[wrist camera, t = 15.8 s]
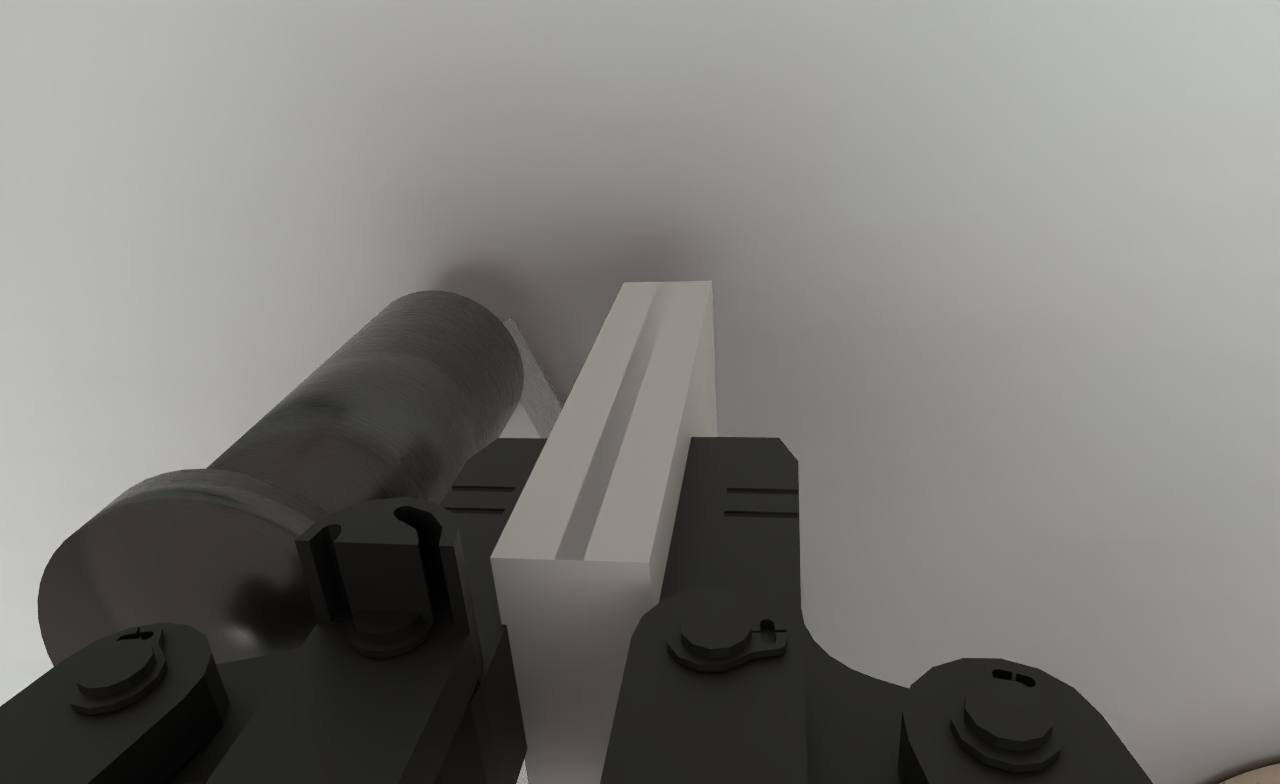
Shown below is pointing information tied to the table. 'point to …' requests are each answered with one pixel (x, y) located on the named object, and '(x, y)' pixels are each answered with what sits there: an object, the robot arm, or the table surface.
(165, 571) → the crank arm
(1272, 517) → the table surface
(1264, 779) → the teacup with lid
